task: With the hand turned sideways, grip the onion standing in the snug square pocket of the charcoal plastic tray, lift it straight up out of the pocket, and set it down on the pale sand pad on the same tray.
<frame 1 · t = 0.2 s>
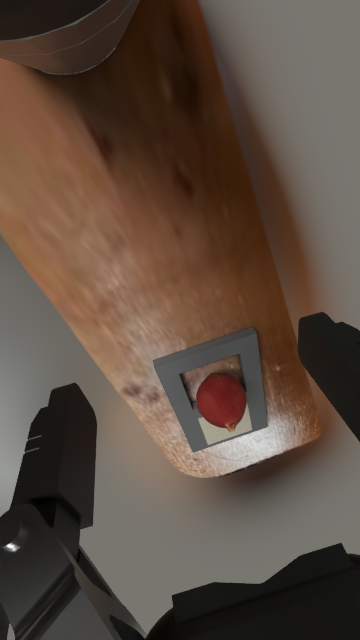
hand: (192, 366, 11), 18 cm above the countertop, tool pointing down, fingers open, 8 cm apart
onion: (211, 375, 39), resting in tray
tray: (217, 394, 41), on the countertop
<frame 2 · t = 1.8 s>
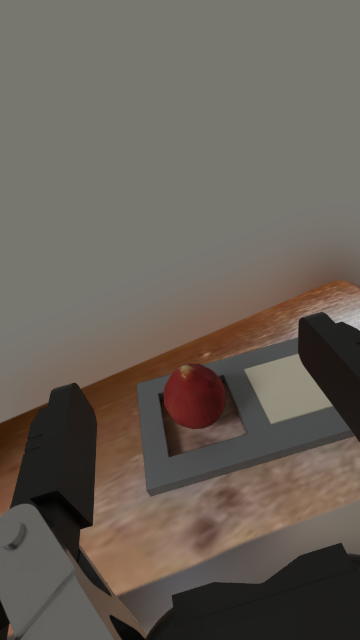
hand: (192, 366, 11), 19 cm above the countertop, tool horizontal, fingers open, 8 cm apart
onion: (201, 419, 31), resting in tray
tray: (238, 407, 31), on the countertop
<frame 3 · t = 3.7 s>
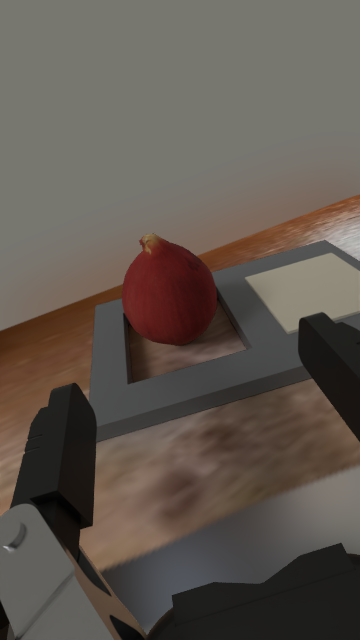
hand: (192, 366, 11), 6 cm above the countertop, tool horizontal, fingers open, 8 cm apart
onion: (182, 343, 21), resting in tray
tray: (237, 325, 21), on the countertop
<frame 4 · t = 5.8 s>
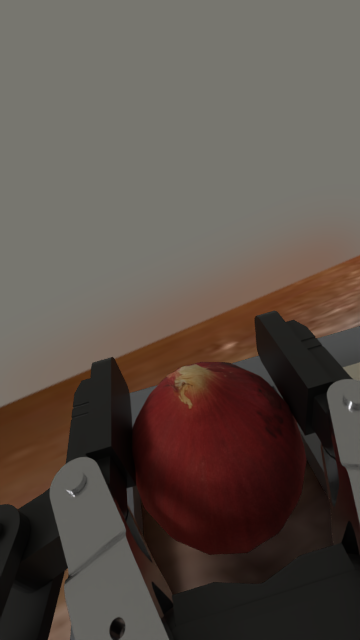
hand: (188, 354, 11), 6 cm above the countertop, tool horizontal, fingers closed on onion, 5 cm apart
onion: (228, 497, 13), resting in tray, touching gripper
tray: (318, 467, 13), on the countertop
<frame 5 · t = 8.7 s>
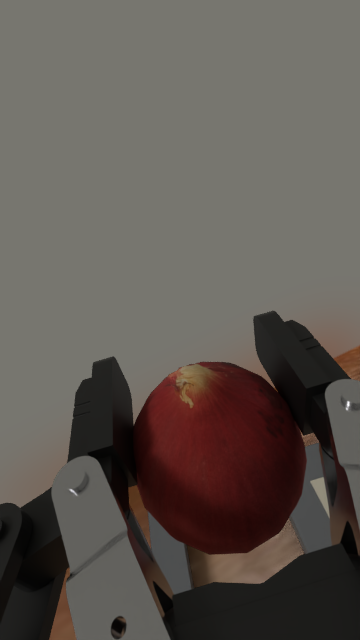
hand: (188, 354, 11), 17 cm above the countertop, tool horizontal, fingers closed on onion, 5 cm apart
onion: (228, 497, 13), point 11 cm above the countertop, touching gripper
tray: (308, 553, 20), on the countertop
when the fingers open (9 cm above the countertop, at t = 11.5 s): onion drops 1 cm, resting on tray.
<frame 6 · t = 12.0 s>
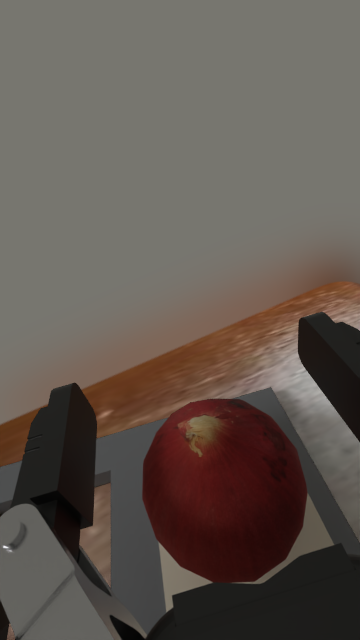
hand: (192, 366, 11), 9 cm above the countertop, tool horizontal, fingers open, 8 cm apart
onion: (232, 515, 14), point 1 cm above the countertop, touching tray
tray: (124, 556, 15), on the countertop
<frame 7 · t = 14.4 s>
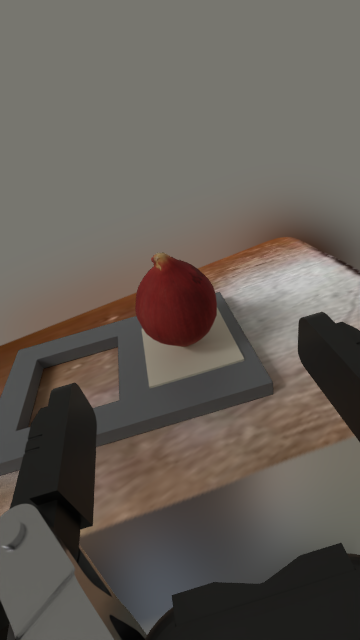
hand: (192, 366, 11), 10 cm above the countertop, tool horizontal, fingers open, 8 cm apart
onion: (187, 344, 24), point 1 cm above the countertop, touching tray
tray: (126, 373, 25), on the countertop
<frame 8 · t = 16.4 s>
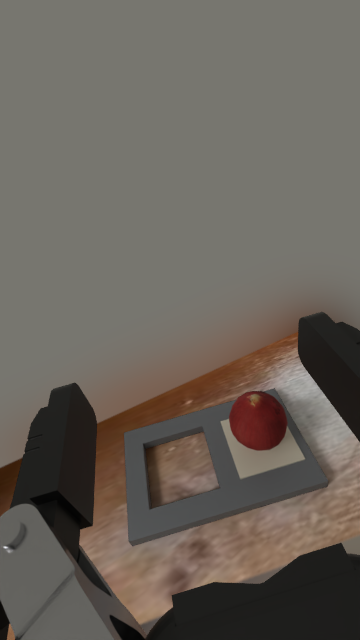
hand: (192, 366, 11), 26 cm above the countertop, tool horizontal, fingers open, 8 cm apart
onion: (259, 440, 34), point 1 cm above the countertop, touching tray
tray: (214, 459, 35), on the countertop
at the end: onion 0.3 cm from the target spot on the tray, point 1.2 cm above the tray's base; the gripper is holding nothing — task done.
